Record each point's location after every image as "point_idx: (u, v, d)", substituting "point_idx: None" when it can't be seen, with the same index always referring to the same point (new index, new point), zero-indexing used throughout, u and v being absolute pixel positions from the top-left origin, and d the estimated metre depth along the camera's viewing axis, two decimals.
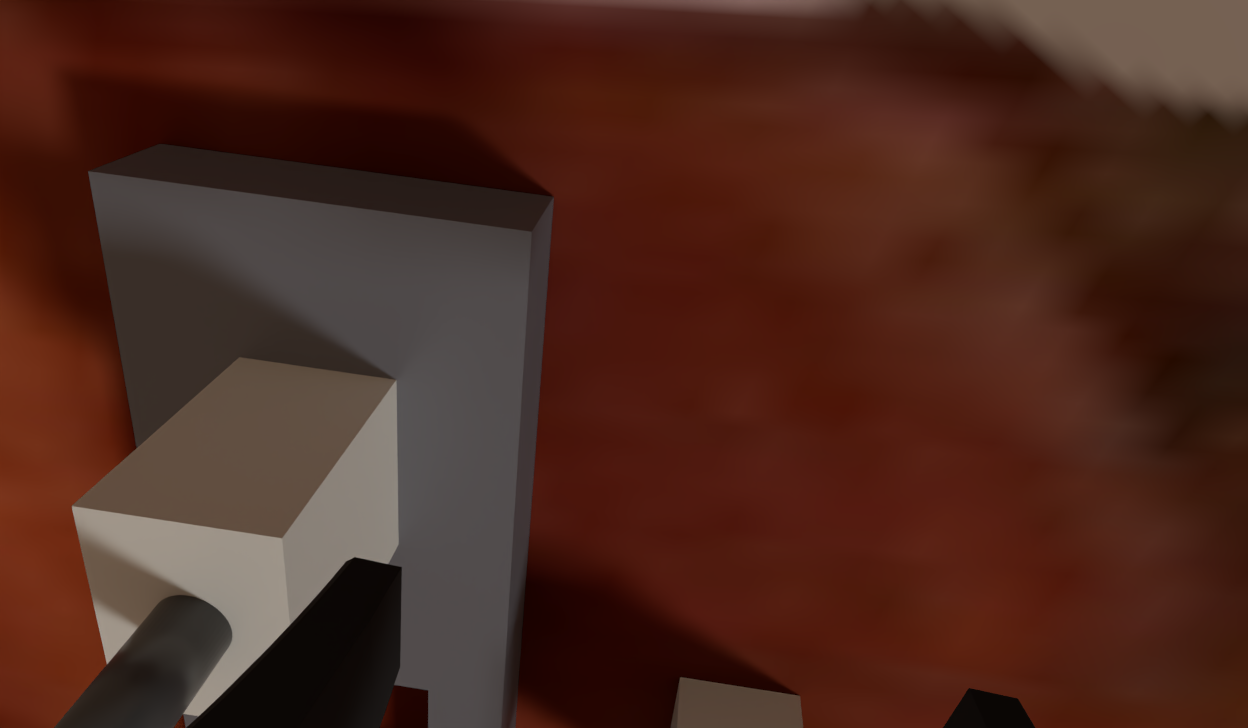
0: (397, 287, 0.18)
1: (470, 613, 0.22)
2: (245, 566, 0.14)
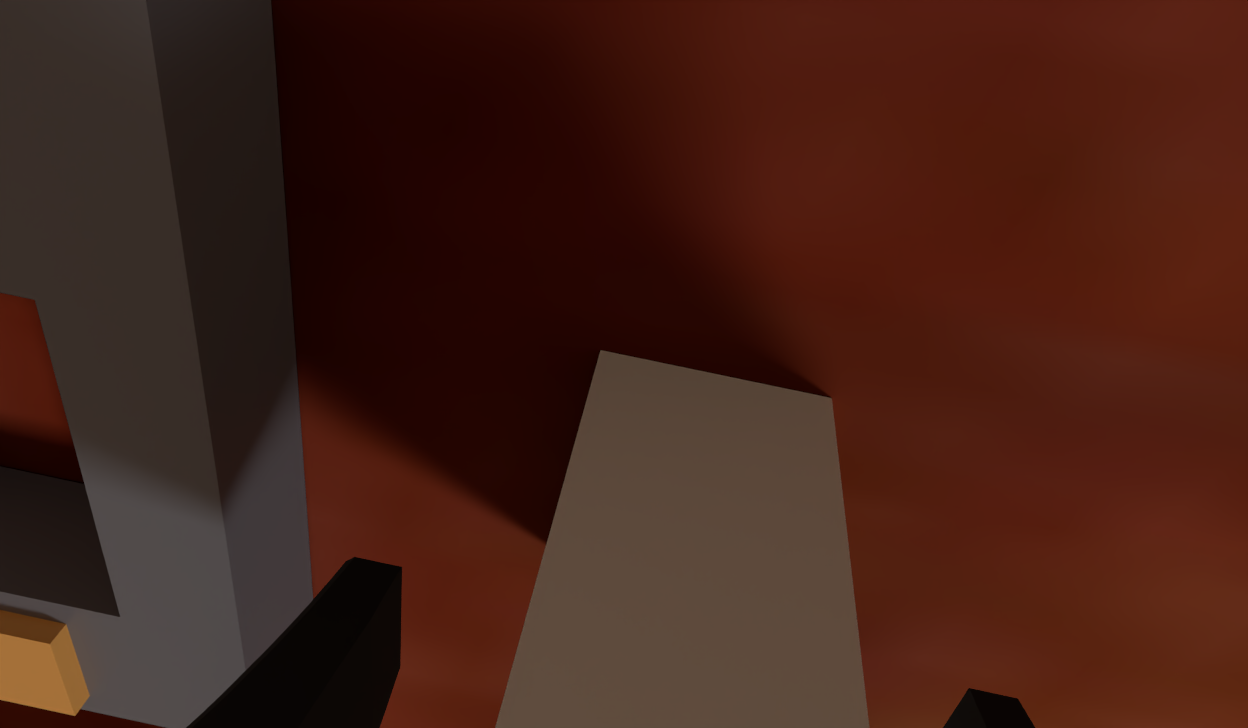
0: None
1: (69, 78, 0.09)
2: None
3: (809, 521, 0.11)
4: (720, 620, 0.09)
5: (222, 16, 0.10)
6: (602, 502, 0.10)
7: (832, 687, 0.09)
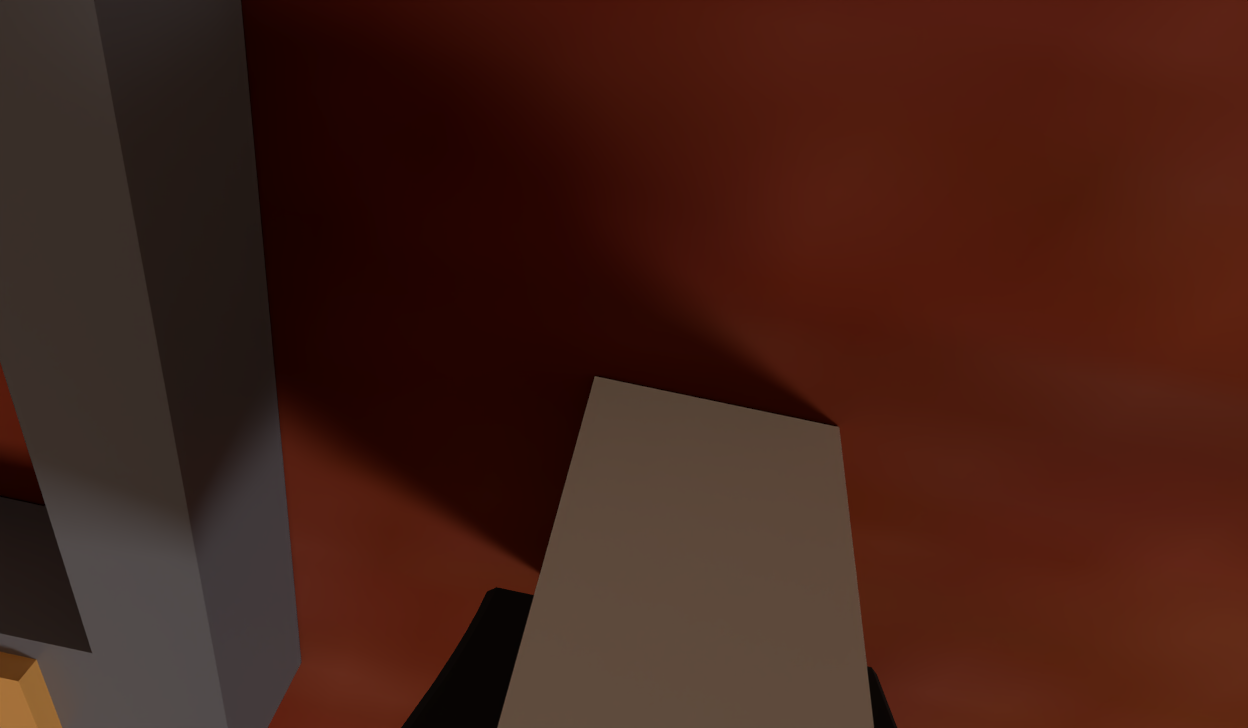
0: None
1: (17, 97, 0.08)
2: None
3: (817, 565, 0.10)
4: (720, 680, 0.09)
5: (186, 28, 0.09)
6: (595, 547, 0.10)
7: None
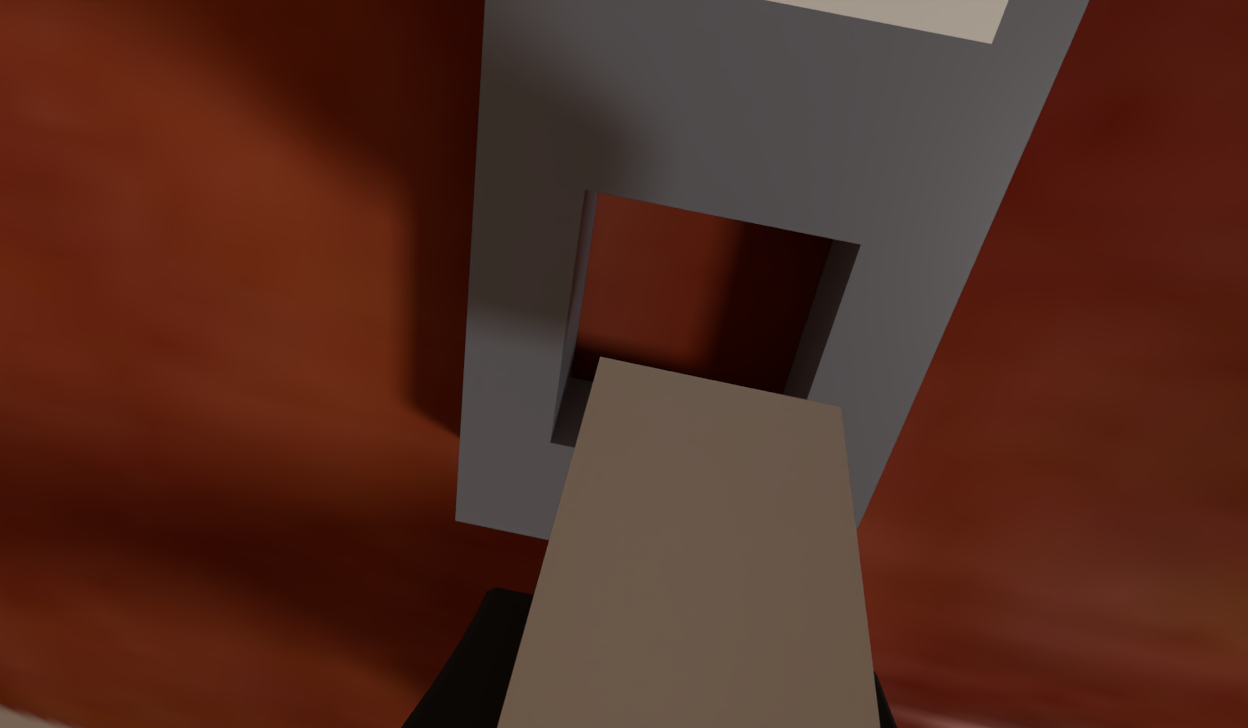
0: None
1: (982, 95, 0.14)
2: None
3: (820, 538, 0.10)
4: (727, 647, 0.09)
5: None
6: (601, 519, 0.10)
7: (844, 720, 0.08)
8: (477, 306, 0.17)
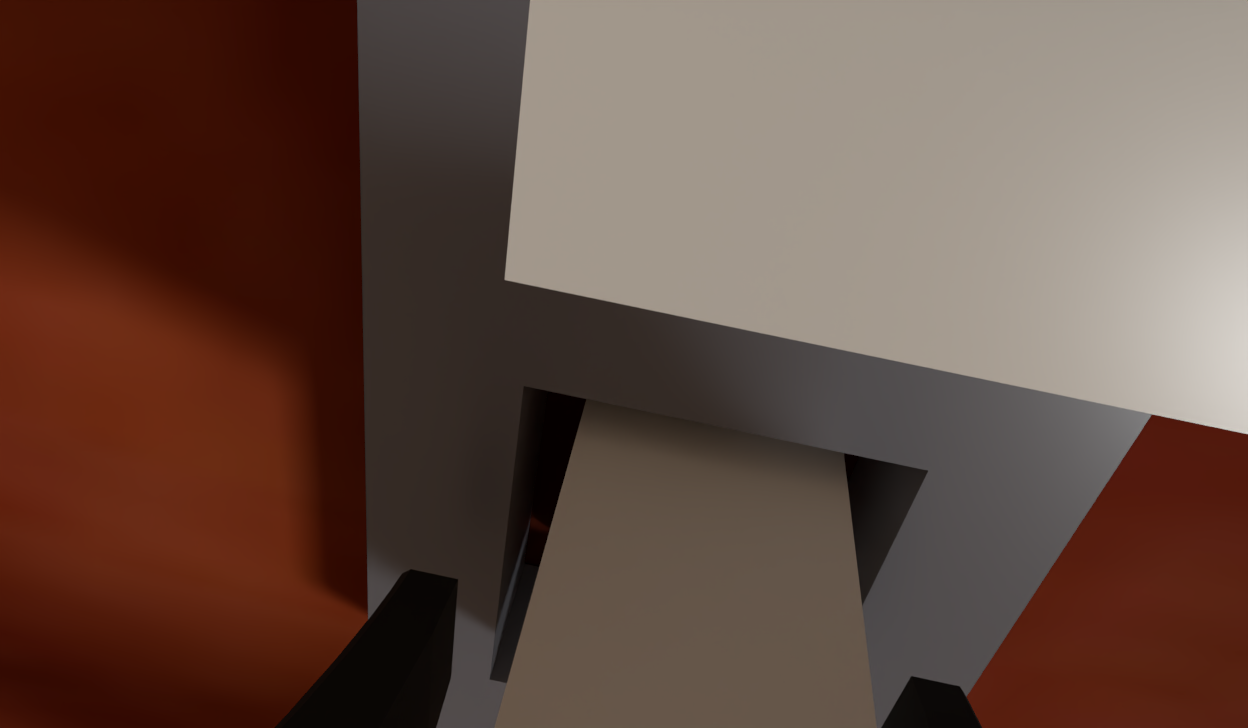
0: None
1: None
2: None
3: (813, 497, 0.11)
4: (725, 593, 0.09)
5: None
6: (608, 481, 0.10)
7: (834, 657, 0.09)
8: (380, 522, 0.12)
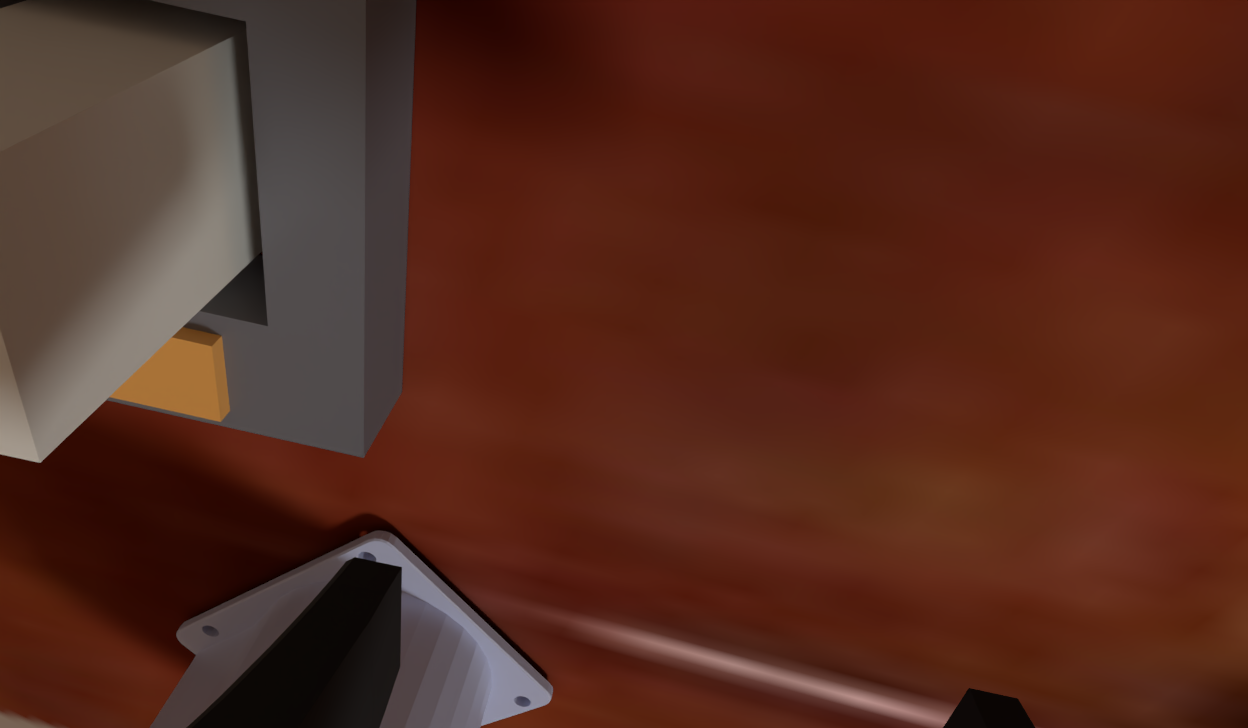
0: None
1: None
2: None
3: (170, 48, 0.14)
4: (35, 65, 0.13)
5: None
6: (3, 23, 0.14)
7: (87, 92, 0.12)
8: None
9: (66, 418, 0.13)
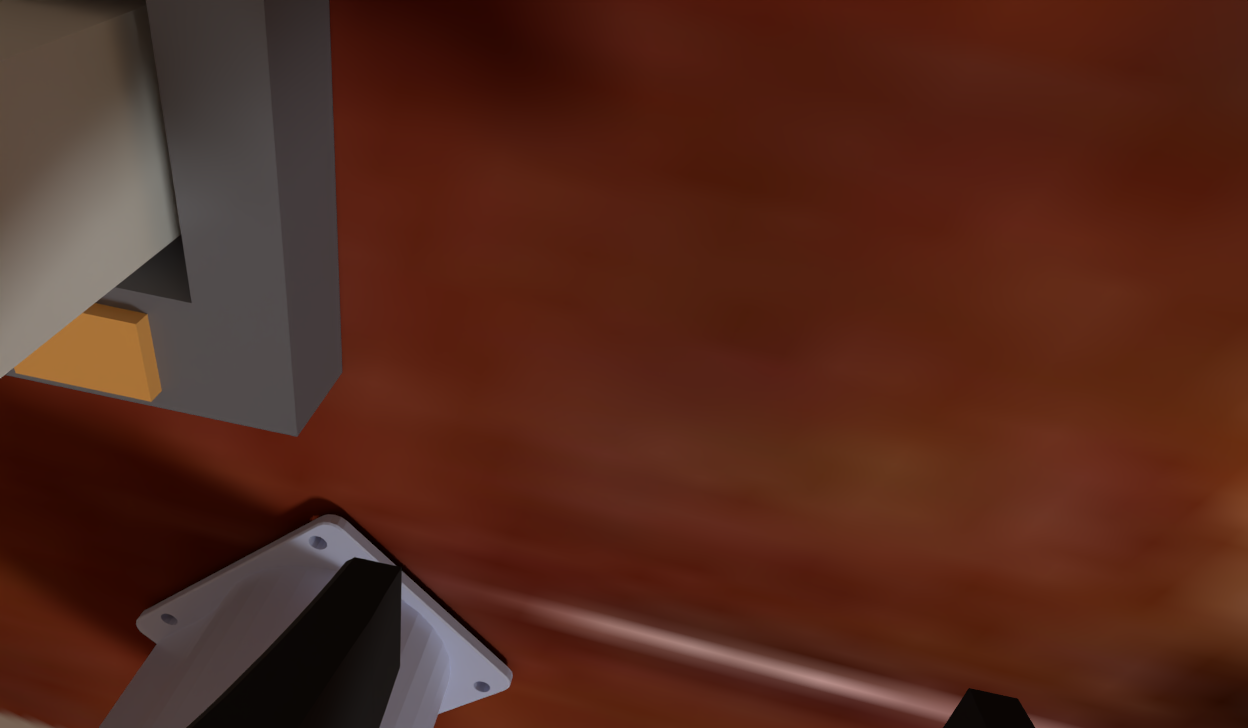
0: None
1: None
2: None
3: (71, 18, 0.14)
4: None
5: None
6: None
7: None
8: None
9: None
